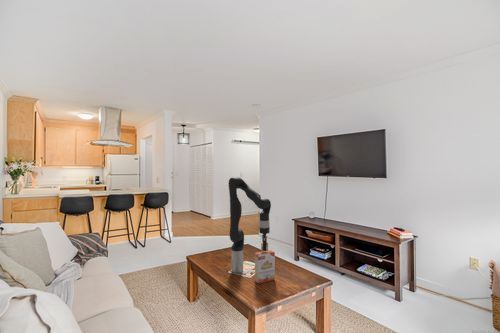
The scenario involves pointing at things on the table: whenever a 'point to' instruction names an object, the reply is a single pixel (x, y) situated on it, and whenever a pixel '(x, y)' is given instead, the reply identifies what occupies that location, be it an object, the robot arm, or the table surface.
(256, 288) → the table surface
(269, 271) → the cracker box
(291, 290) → the table surface
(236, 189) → the robot arm
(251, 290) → the table surface
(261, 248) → the metal block
